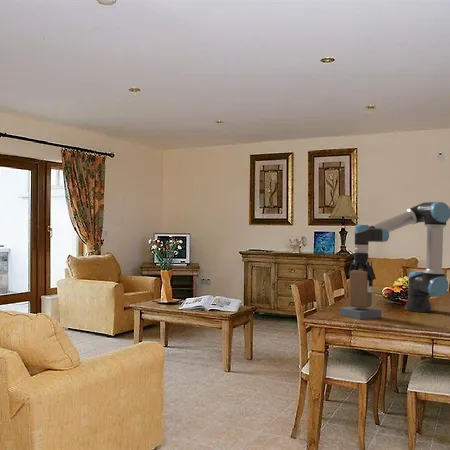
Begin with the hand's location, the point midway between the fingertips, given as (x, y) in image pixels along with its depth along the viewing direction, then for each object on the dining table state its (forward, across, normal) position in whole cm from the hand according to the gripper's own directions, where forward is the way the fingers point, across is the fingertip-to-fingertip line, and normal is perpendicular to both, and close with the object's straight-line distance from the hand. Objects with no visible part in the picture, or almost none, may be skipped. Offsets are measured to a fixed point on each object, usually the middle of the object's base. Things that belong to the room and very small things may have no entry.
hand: (360, 290), depth 290 cm
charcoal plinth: (+14, 0, 0) cm, 14 cm away
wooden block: (+9, 0, 0) cm, 9 cm away
